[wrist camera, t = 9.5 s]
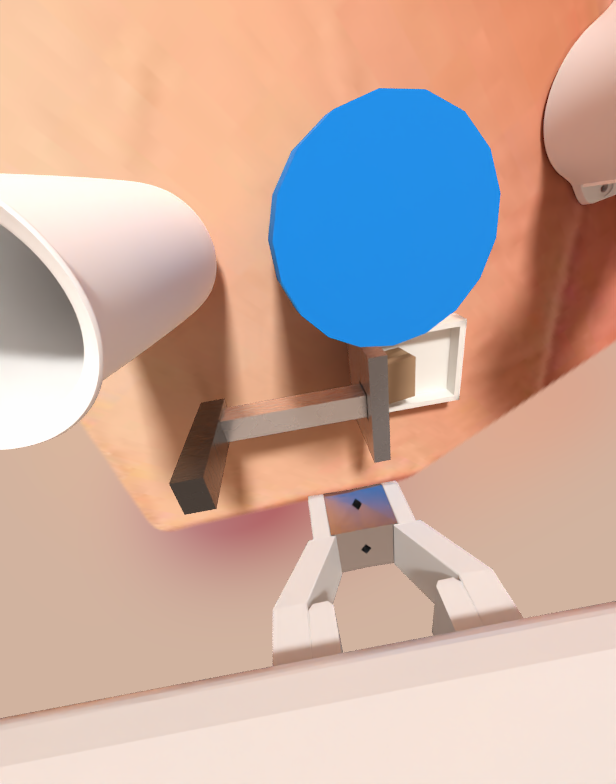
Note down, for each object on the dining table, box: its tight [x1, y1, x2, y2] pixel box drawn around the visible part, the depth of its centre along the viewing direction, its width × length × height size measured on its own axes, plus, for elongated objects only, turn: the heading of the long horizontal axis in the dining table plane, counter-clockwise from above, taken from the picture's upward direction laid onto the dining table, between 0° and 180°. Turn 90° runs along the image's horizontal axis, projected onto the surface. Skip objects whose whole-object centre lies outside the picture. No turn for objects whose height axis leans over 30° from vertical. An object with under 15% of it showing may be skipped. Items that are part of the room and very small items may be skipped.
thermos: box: [268, 88, 500, 347], centre depth 25 cm, size 11×11×25 cm
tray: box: [380, 313, 467, 412], centre depth 44 cm, size 13×12×3 cm
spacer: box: [384, 347, 416, 404], centre depth 43 cm, size 5×6×4 cm
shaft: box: [169, 384, 368, 514], centre depth 35 cm, size 20×4×14 cm, turn 99°
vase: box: [0, 174, 217, 450], centre depth 24 cm, size 13×13×28 cm
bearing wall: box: [347, 343, 390, 463], centre depth 41 cm, size 2×14×12 cm, turn 9°
